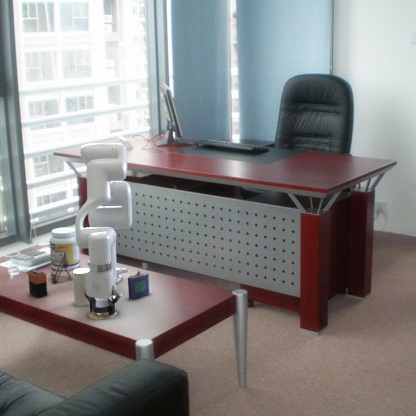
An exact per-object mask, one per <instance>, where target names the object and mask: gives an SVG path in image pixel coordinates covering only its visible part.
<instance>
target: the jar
mask: <svg viewBox="0 0 416 416" xmlns="http://www.w3.org/2000/svg"><path fill="white" fill-rule="evenodd" d="M89 269H90V268H75V269H73V271H72V274H73V275H72V281H73V282H72V283H73V299H74V300H73V301H74V305H75V306H77V307H86V306H90V305H89V302H88V299H87V298H86V297H85V294H84V293H83V292H82V289H83V288H85V287H86V278H87V272H88V270H89Z"/></svg>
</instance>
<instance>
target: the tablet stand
mask: <svg viewBox="0 0 416 416" xmlns="http://www.w3.org/2000/svg"><path fill="white" fill-rule="evenodd" d="M61 263H62V267H61V269H60V270H59V268H60V265H61ZM68 266H69V265H68V262H67V258H66V257H63V258H62V259H61V262H60V264H59V266H58V269H57V270H55V273H54V274H53V272H50V279H51V282H52V284H57V283H58V282H59V278H60V276H61V273H62V272H63V270H62V269H63V268H65V270H64V271H65V272H66V274H67V275H68V277H69V279H70V280H71V281H73V278H72V276H71V274H70V272H69V270H67V269H66V268H67V267H68Z"/></svg>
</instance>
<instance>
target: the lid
mask: <svg viewBox="0 0 416 416" xmlns="http://www.w3.org/2000/svg"><path fill="white" fill-rule="evenodd" d="M108 305H110V304H109V302H108V300H107V299H100V300H96V302H93V303H92V311H93V312H94V313H107V312H108Z"/></svg>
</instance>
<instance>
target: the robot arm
mask: <svg viewBox="0 0 416 416" xmlns="http://www.w3.org/2000/svg"><path fill="white" fill-rule="evenodd" d="M79 152H80V153H79V154H80V158H81V159H82V161H83V163H84V164H85V166H86V190H87V191H86V201H85V203H84V204H83V205H82V206H81V207H80V209H79V210H78V212H77V214H76V216H75V222H74V224H75V225H74V228H75V238H76V244H77V246H78V247H79V249H88V261H87V263H86V265H87V266H89V268H88V269H89V270H88V272H87V278H86V287H85V288H83V289H82V292H83V293H84V294H85V297H86V298H87V299H88V302H89V305H88V306H89V313H90V312H93V311H92V303H93V302H96V301H97V299H100V300H108V302H109V304H110V305H108V315H109V316H111V315H113V314H114V313H115V310H116V304H117V303H118V301H119V300H120V299H121V298H122V296H123V295H122V293H121V292H120V291H119V290H118V289H117V286H116V283H119V282H120V281H121V280H122V276H121V275H122V274H127V273H128V272H129V270H128V268H122V267H119V268H118V266H117V265H118V263H117V243H116V242H117V232H116V230H127V229H130V228H131V227H132V225H133V201H132V200H133V195H132V188H131V185H130V184H129V182H127V181H124V180H125V179H126V178H127V175H128V151H127V147H126V146H125V145H124V144H122V143H87V144H84V145H82V146H81V147H80V150H79ZM112 205H113V206H112ZM114 205H116V206H114ZM86 217H87V218H88V224H89V227H84V221H85V219H86Z"/></svg>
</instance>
